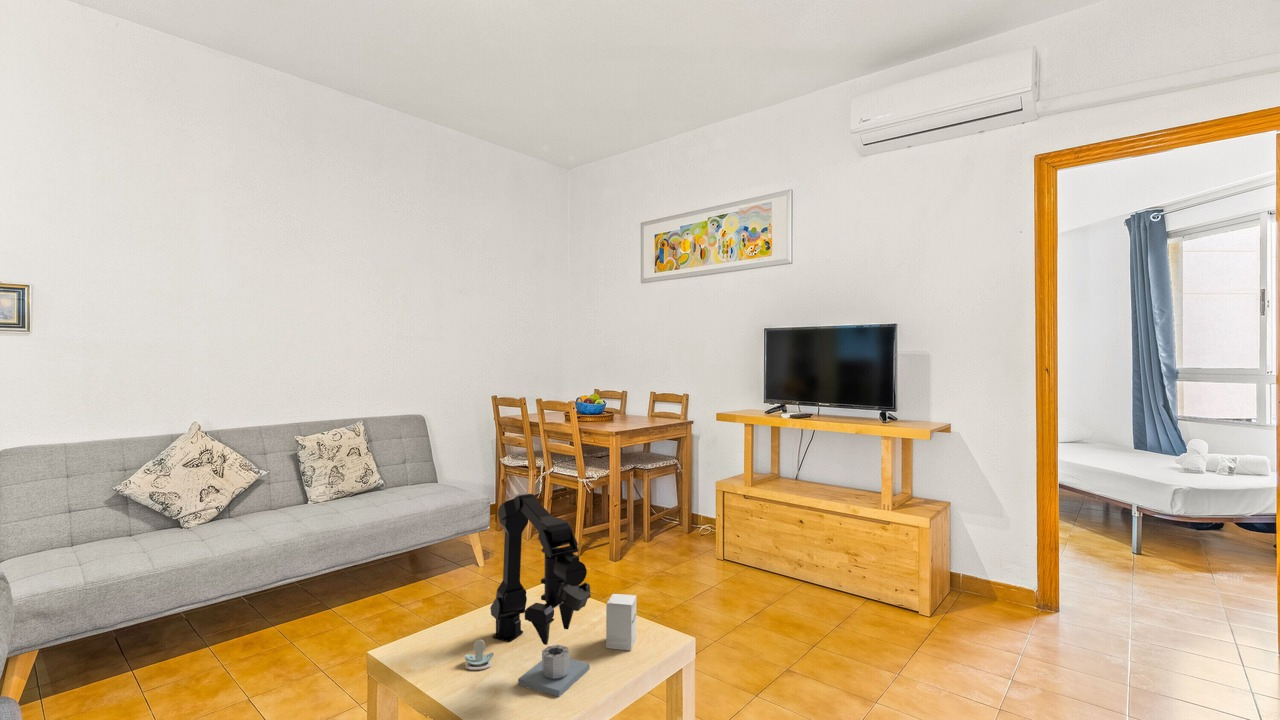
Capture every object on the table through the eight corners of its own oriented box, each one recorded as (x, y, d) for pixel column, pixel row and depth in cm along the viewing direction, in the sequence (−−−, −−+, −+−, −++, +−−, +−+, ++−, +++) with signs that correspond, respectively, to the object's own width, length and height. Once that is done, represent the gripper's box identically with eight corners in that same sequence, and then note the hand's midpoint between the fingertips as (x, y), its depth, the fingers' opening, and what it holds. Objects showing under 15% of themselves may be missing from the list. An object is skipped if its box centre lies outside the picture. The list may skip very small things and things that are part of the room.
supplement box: (631, 651, 163) (631, 605, 163) (605, 648, 164) (605, 602, 164) (637, 638, 170) (637, 594, 170) (612, 636, 171) (612, 592, 171)
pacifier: (491, 671, 153) (494, 658, 159) (491, 647, 152) (494, 635, 158) (462, 673, 152) (466, 660, 158) (462, 649, 151) (466, 637, 157)
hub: (537, 674, 146) (537, 654, 146) (552, 662, 152) (552, 643, 152) (559, 680, 144) (559, 659, 144) (573, 668, 149) (573, 648, 149)
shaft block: (518, 684, 146) (518, 667, 146) (550, 659, 158) (550, 643, 158) (559, 696, 140) (559, 678, 140) (589, 669, 153) (589, 652, 153)
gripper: (562, 592, 136) (562, 660, 136) (602, 567, 153) (602, 627, 153) (523, 584, 141) (523, 650, 141) (566, 560, 158) (566, 619, 158)
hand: (556, 636), depth 148 cm, fingers open, 9 cm apart
